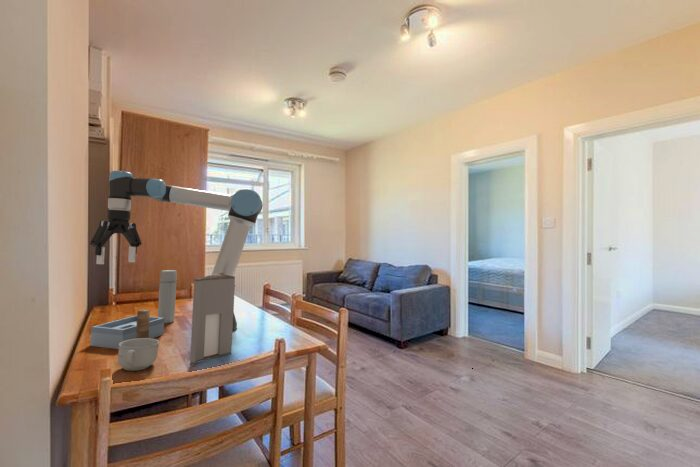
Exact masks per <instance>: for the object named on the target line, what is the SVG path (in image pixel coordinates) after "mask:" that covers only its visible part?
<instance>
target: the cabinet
mask: <svg viewBox="0 0 700 467" xmlns="http://www.w3.org/2000/svg"><path fill="white" fill-rule="evenodd" d="M235 279H236V276H235V275H234V276H228V275H223V273H218V274H214V275H212V274H210V275H207V276H202V277H197V278H195V279H193V296H192V297H193V300H192V318H191V337H190V357H189V365H193V366H195V365H196V364H198V363H200V362H203V361H207V360H212V359H216V358H220V357H224V356H229V355H232V351H233V350H232V348H233V331H232V329H233V307H235V291H234V285H235V286H236V284H235V283H236V281H235Z"/></svg>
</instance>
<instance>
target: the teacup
mask: <svg viewBox="0 0 700 467" xmlns="http://www.w3.org/2000/svg"><path fill="white" fill-rule="evenodd" d="M159 344H160V341H159V340H158V339H156V338H152V339H150V338H138V339H131V340H126V341H123V342H121V343H119V349H118V353H117V363H118V365H119V366H120V367H121V368H122V369H123V370H125V371H130V372H132V371H133V372H134V371H141V370H145V369H147V368H149V367H150V366H151V365H153V364H154V363H155V361H157V360H156V359H157V357H158V351H159Z"/></svg>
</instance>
